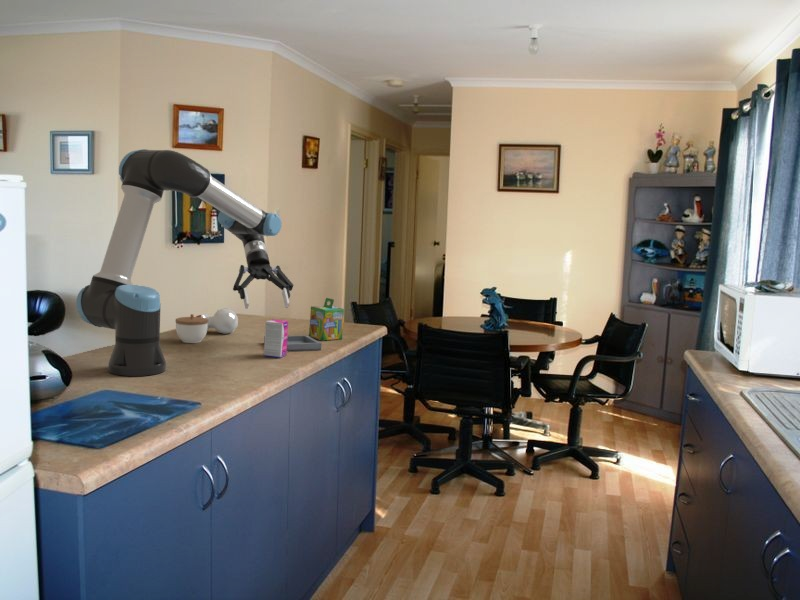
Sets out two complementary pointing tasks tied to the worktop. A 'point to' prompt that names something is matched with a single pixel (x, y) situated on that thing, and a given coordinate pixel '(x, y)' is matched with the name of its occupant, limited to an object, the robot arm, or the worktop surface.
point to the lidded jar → (191, 328)
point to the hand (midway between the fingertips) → (267, 306)
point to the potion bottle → (222, 320)
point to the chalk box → (326, 321)
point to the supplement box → (276, 338)
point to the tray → (301, 343)
